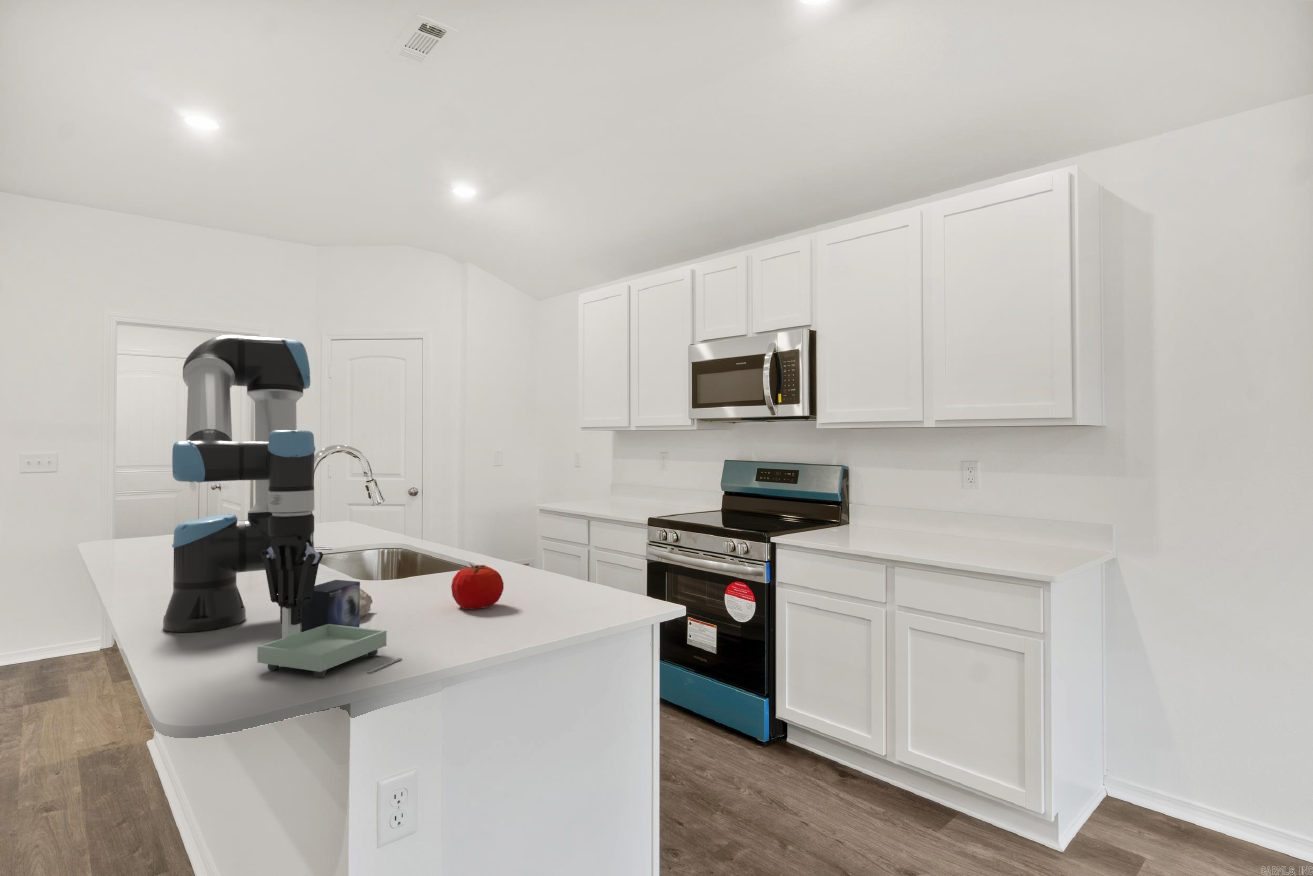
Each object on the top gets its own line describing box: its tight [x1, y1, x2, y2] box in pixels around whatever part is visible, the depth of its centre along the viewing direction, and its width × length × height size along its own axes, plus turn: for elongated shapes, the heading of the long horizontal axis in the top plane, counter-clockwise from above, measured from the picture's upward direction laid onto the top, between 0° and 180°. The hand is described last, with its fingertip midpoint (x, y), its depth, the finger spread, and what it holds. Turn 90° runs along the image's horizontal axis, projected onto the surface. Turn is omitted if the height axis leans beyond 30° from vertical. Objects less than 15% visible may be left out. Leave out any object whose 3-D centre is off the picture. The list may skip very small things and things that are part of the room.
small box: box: [300, 579, 361, 633], centre depth 141 cm, size 11×6×10 cm, turn 168°
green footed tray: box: [256, 624, 388, 679], centre depth 123 cm, size 14×15×4 cm
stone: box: [359, 588, 373, 620], centre depth 155 cm, size 8×12×10 cm, turn 0°
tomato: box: [450, 562, 505, 610], centre depth 164 cm, size 11×13×10 cm
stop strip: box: [366, 657, 403, 674], centre depth 121 cm, size 1×8×1 cm, turn 161°
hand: (291, 641), depth 126 cm, fingers closed
